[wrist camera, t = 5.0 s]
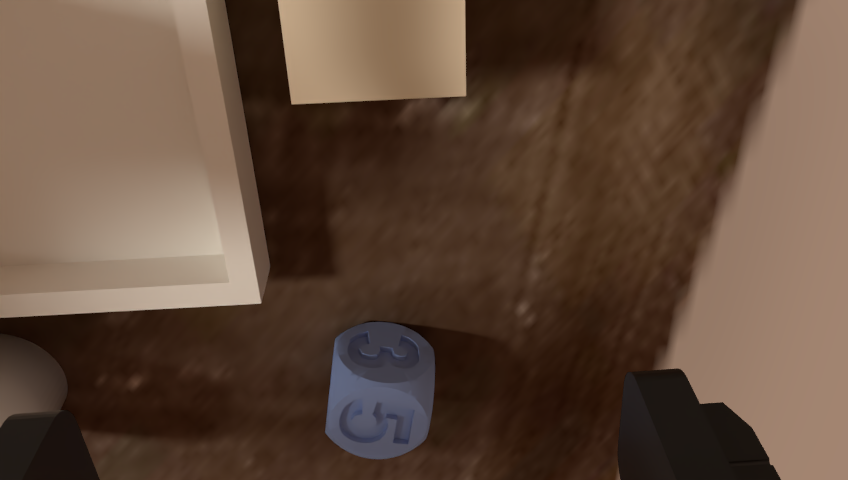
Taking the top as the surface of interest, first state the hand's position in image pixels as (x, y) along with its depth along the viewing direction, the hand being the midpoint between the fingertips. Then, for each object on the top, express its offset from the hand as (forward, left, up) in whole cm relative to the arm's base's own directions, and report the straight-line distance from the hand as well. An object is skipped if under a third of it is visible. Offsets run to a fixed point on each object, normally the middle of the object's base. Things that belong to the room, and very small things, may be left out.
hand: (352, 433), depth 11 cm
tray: (-12, -1, -18) cm, 21 cm away
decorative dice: (-1, -13, -18) cm, 22 cm away
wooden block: (0, +3, -18) cm, 18 cm away
